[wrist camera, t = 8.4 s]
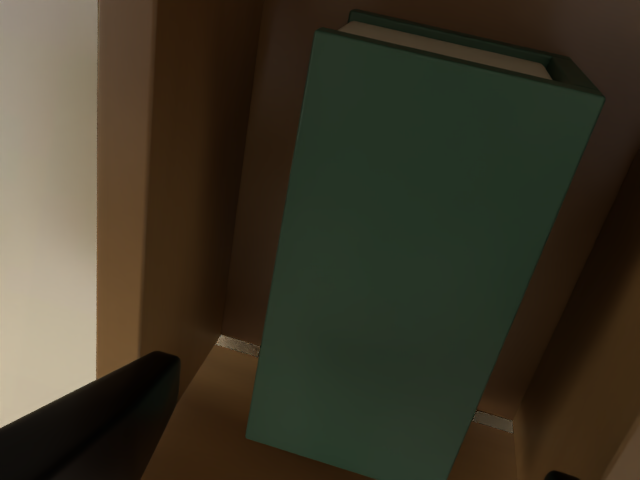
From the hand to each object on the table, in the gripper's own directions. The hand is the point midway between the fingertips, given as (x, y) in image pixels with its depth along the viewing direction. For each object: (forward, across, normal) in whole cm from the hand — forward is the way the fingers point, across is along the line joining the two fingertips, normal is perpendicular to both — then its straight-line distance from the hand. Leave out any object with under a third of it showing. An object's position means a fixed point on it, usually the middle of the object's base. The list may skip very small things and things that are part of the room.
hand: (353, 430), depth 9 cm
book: (+5, 0, -1) cm, 5 cm away
